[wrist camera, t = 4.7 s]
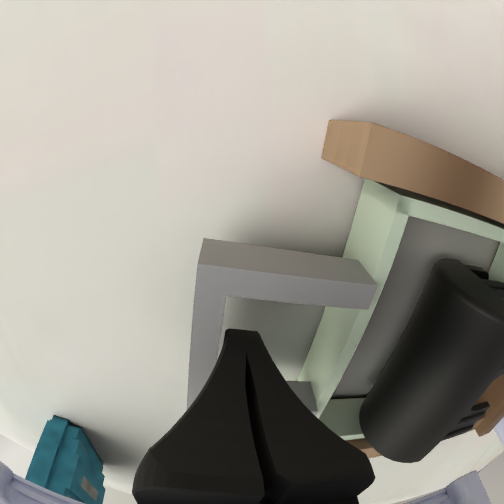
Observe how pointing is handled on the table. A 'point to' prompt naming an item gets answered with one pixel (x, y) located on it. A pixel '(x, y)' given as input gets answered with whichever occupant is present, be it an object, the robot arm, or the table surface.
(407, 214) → the pull tray
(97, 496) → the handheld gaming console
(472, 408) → the end cap
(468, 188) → the brown wooden frame
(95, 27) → the table surface
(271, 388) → the robot arm
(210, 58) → the table surface
